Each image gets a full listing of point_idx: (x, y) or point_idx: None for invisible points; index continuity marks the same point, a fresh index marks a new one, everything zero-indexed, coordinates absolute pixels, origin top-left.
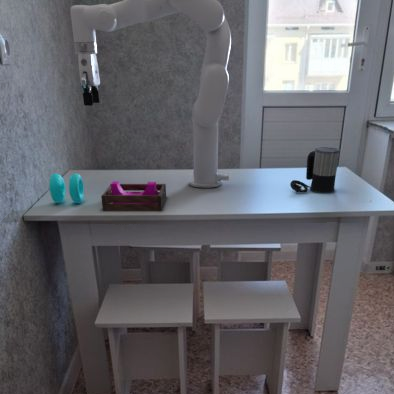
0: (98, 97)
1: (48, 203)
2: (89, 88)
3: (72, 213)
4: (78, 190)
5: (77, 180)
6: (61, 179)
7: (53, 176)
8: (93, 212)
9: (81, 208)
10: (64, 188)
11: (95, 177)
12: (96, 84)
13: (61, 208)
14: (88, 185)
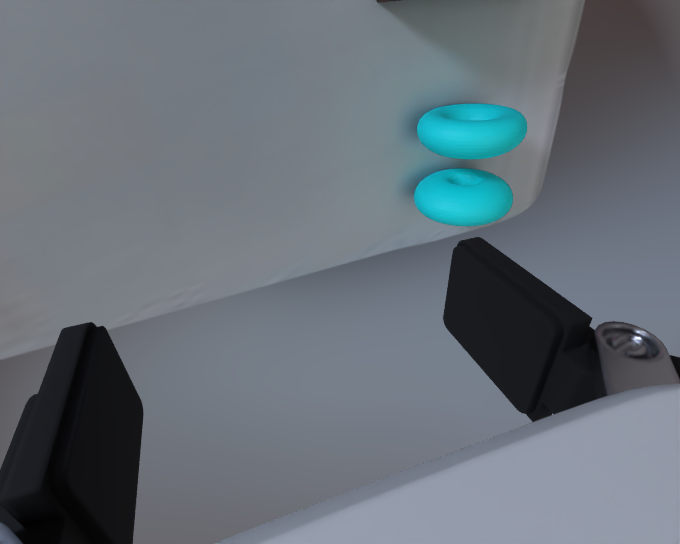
0: (79, 377)
1: None
2: (670, 375)
3: (542, 93)
4: (508, 107)
5: (520, 117)
6: (482, 189)
7: (507, 209)
8: (547, 23)
9: (499, 84)
10: (446, 180)
11: (20, 216)
12: (572, 434)
13: None
14: (193, 184)
